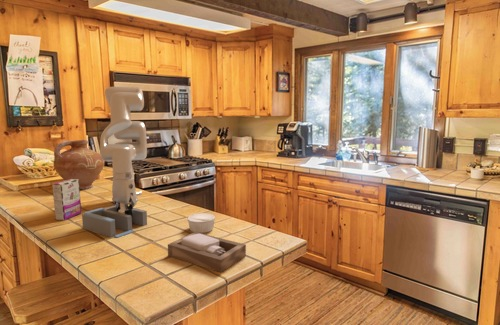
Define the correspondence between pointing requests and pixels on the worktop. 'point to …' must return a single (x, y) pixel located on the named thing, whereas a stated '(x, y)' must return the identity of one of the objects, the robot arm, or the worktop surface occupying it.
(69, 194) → the candy bar box
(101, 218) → the shelf rack
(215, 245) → the charger
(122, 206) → the pepper shaker
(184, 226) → the worktop surface
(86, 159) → the jug
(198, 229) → the ramekin
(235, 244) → the dispenser tray
